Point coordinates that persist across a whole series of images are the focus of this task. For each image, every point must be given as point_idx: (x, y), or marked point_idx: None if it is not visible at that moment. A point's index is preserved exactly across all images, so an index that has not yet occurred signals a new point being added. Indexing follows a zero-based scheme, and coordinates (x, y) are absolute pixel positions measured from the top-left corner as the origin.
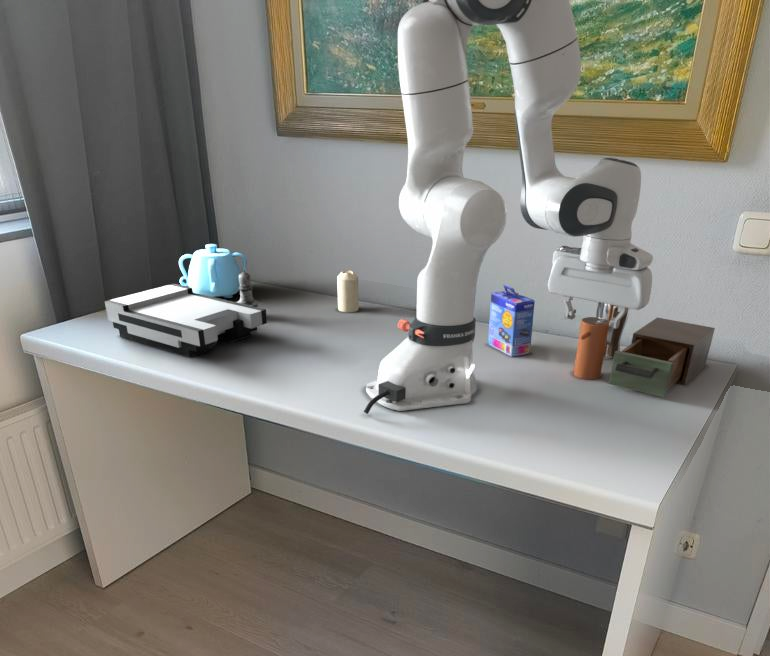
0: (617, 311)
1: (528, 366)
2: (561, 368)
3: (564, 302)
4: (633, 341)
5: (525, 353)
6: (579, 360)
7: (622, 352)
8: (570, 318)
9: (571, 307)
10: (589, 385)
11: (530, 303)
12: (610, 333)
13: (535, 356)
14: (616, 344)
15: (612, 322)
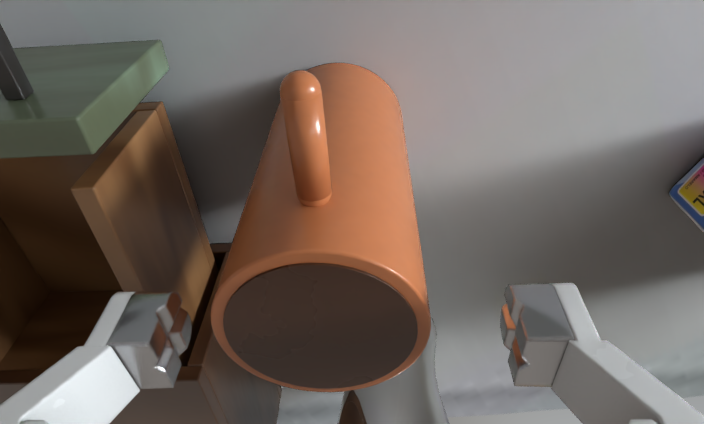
0: None
1: (639, 41)
2: (473, 123)
3: (667, 403)
4: (200, 345)
5: (691, 172)
6: (359, 103)
7: (40, 141)
8: (520, 285)
9: (566, 391)
10: (253, 2)
11: None
12: (367, 391)
13: (633, 181)
14: None
15: (134, 323)
